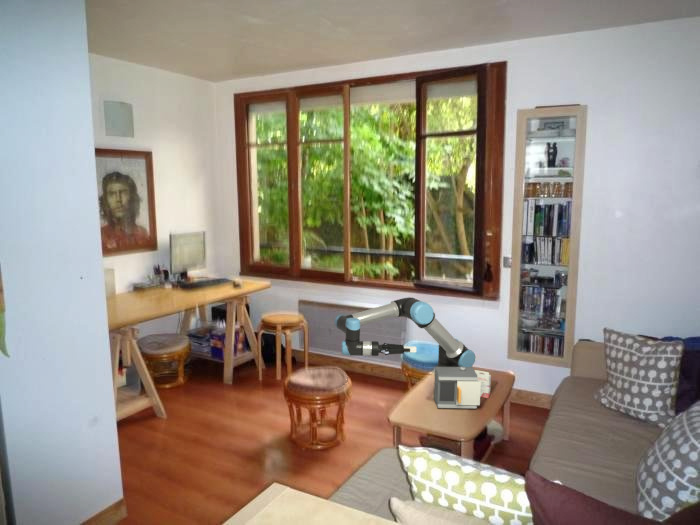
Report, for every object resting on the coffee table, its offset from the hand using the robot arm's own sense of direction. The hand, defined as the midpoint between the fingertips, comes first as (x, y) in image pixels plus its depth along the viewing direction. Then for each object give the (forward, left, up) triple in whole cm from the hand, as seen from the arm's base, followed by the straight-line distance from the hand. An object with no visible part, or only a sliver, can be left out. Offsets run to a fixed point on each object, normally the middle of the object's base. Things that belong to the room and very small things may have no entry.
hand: (416, 349), depth 264 cm
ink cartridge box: (-12, +38, -30) cm, 50 cm away
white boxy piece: (+8, +27, -27) cm, 39 cm away
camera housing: (-1, +21, -30) cm, 37 cm away
